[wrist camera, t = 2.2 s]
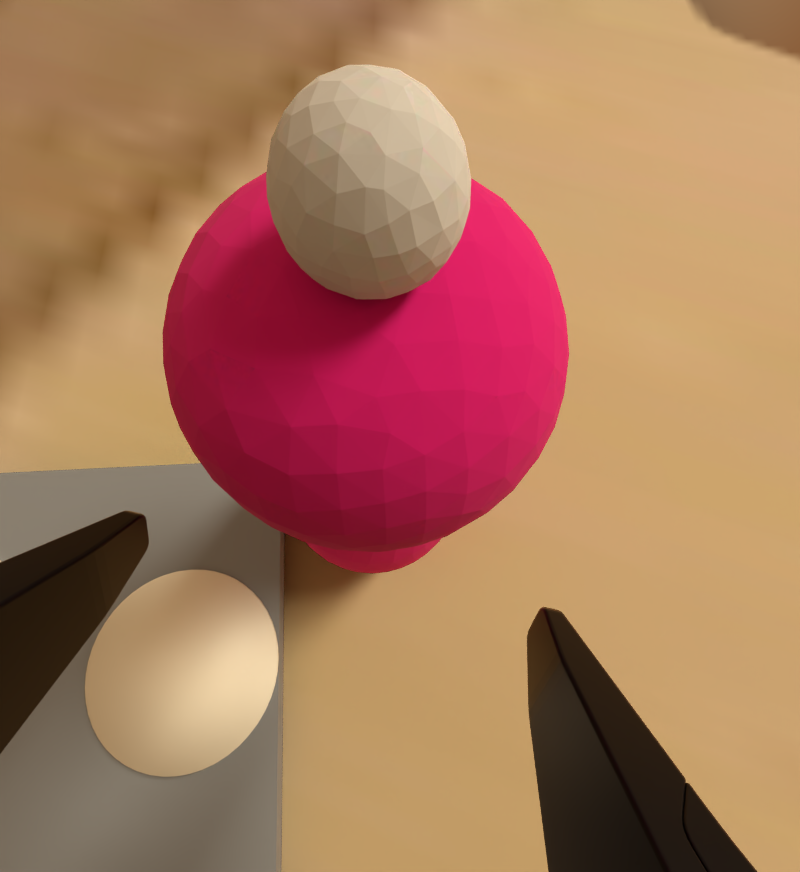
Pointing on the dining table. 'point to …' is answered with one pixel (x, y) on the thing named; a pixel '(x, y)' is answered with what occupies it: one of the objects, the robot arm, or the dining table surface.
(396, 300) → the pepper mill
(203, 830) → the board
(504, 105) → the dining table surface
